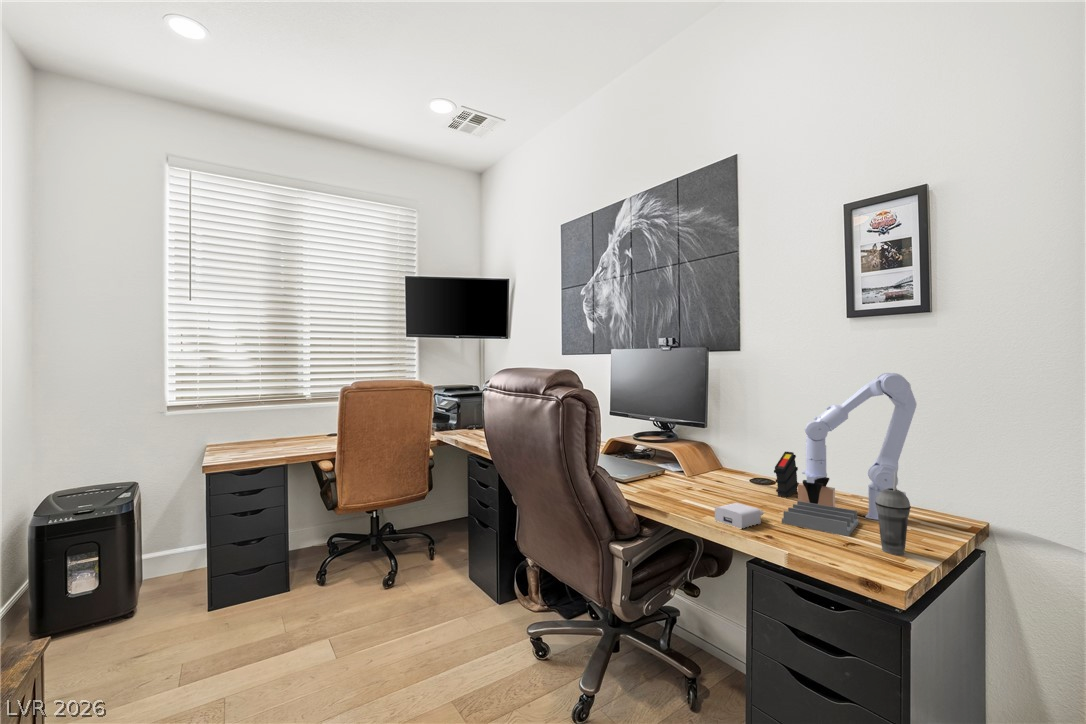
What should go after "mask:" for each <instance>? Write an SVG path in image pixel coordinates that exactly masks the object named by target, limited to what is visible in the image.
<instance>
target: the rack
mask: <svg viewBox="0 0 1086 724" xmlns="http://www.w3.org/2000/svg"><path fill="white" fill-rule="evenodd" d="M796 502H797V503H796V504H795V503H793V504H792V507H789V506H788V507H787V509H788V510H783V512H782V513H783V514H782V515H783V516H782V517H783V518H781V524H783V523H785V524H784V525H788V524H789V526H794V527H798V526H799V527H800V528H805V529H810V530H814V531H820V532H825V533H830V534H833V535H834V534H835V535H840V536H845V537H850V535H851V534H852V533H853V532H854V530H855V529H856V528H857V526H858V525H859V524H860V519H859V518H858V510H854V509H850V508H843V507H838V506H837V507H836V506H835V507H832V506H826V505H820V504H814V503H808V502H802V501H798V500H797V501H796ZM799 527H798V528H799Z"/></svg>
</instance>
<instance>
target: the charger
mask: <svg viewBox="0 0 1086 724" xmlns="http://www.w3.org/2000/svg"><path fill="white" fill-rule="evenodd" d="M763 511H764V510H763V509H760V508H758V507H754V506H752V505H751V506H750V505H747V504H743V503H739V502H735V503H734V502H733V503H730V504H725V505H721V506H716V507H715V508H714V521H715V520H716V521H719V522H722V523H725V524H729V525H732V526H735V527H738V528H741V529H740V530H742V528H743V529H746V528H745V527H747V528H750V527H749V526H751V527H753V526H752V525H754V526H757V525H756V524H758V525H760V524H761V523H762V522H761V521H762V520H761V519H762V517H761V516H764V514H765V513H764V512H763ZM716 521H715V522H716ZM722 523H721V524H722ZM725 524H724V525H725Z"/></svg>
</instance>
